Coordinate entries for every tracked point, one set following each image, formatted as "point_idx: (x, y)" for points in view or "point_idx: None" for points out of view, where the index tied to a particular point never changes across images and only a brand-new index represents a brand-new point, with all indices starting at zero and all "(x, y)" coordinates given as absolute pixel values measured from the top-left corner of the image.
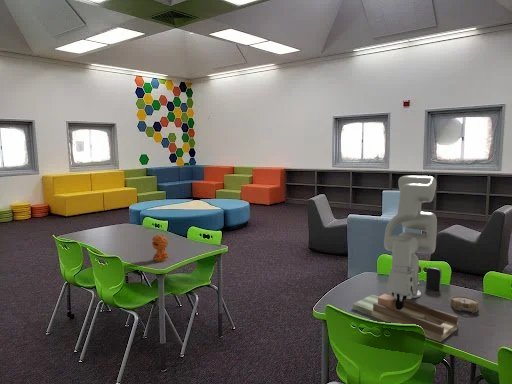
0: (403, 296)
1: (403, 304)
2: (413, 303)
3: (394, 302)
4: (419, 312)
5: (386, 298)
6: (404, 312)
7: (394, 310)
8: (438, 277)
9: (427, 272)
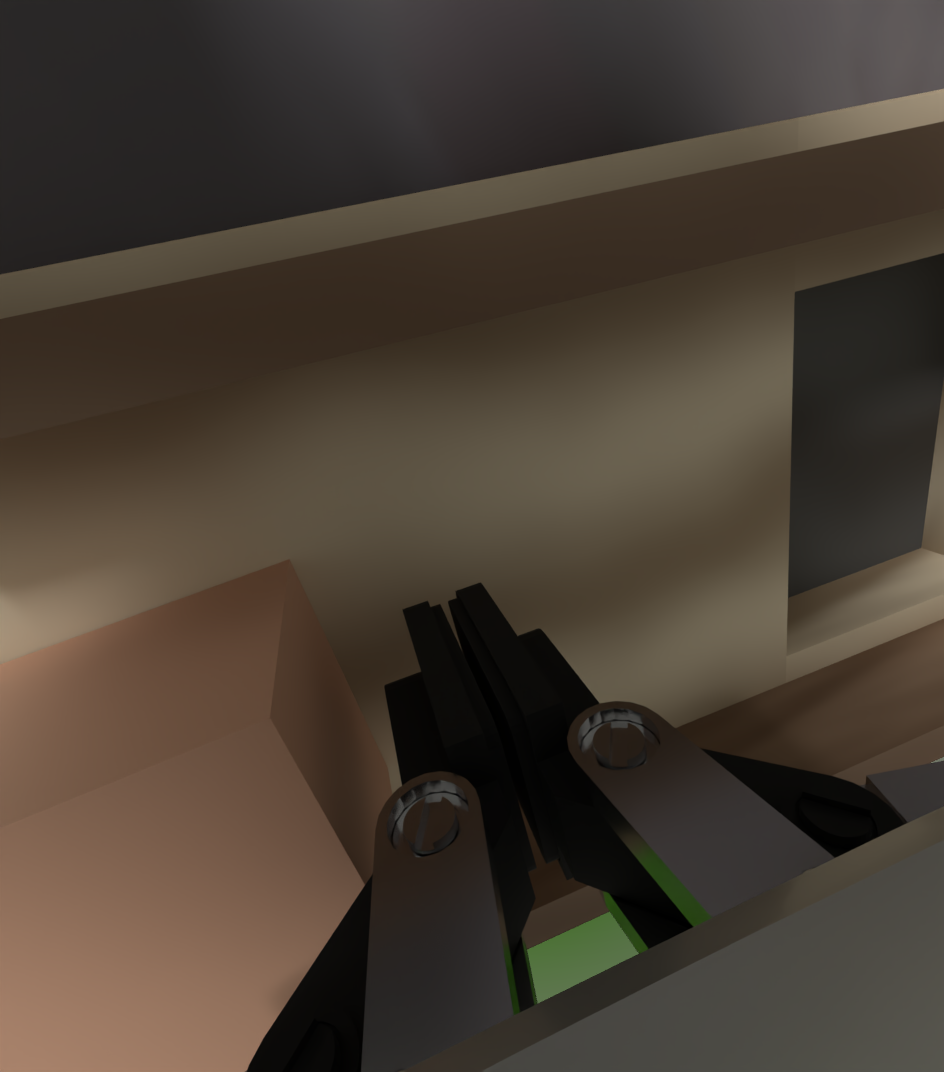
0: (684, 841)
1: (560, 657)
2: (602, 280)
3: (339, 760)
4: (669, 292)
5: (209, 1032)
6: (514, 559)
7: (592, 903)
8: None
9: None
